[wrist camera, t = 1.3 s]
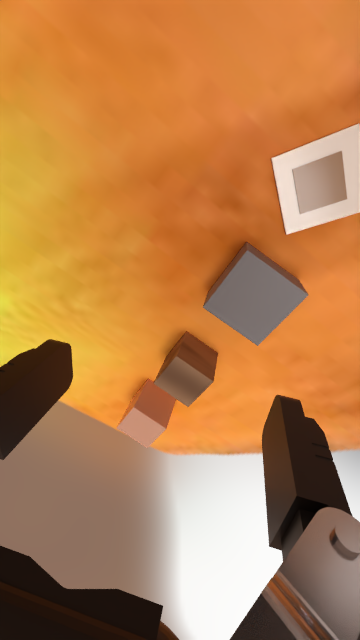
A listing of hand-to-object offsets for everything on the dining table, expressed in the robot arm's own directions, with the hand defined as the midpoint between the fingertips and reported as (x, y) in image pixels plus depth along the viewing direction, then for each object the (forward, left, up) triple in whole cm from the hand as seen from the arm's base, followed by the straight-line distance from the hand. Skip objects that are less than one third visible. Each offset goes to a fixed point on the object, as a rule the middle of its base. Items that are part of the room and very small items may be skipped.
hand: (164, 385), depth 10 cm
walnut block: (-7, -11, -22) cm, 26 cm away
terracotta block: (-15, -17, -22) cm, 32 cm away
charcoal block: (+3, -4, -22) cm, 23 cm away
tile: (+11, +4, -22) cm, 25 cm away
